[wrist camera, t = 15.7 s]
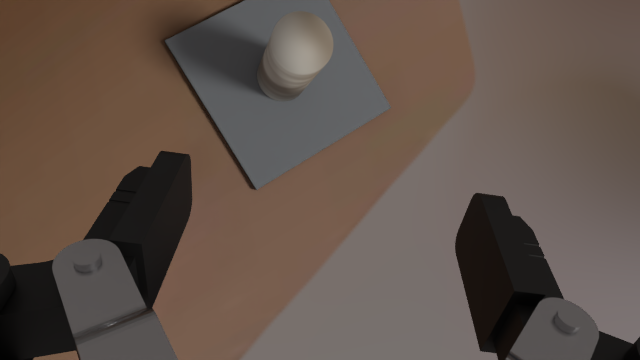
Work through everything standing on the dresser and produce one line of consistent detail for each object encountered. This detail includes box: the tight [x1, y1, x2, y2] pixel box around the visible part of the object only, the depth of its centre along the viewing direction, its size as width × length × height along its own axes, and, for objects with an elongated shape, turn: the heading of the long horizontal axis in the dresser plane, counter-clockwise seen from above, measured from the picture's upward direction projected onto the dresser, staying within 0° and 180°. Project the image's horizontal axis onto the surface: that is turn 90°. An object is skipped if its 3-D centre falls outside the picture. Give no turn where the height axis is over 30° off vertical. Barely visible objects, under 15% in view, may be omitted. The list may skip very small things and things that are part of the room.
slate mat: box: [165, 0, 391, 190], centre depth 46 cm, size 16×16×1 cm
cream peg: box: [257, 11, 333, 101], centre depth 41 cm, size 5×5×10 cm
